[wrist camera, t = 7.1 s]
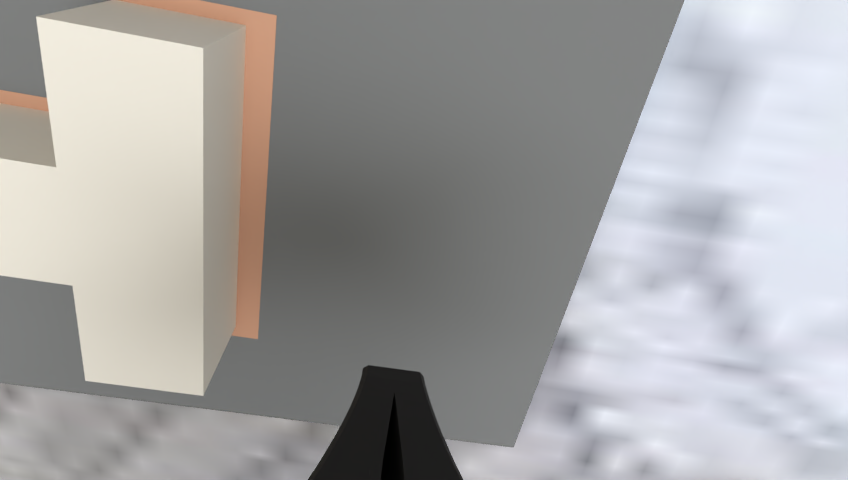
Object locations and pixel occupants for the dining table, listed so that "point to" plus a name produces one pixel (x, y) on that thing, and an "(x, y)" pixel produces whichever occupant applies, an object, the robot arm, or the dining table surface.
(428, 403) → the robot arm
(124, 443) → the dining table surface
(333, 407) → the mat
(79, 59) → the t block
